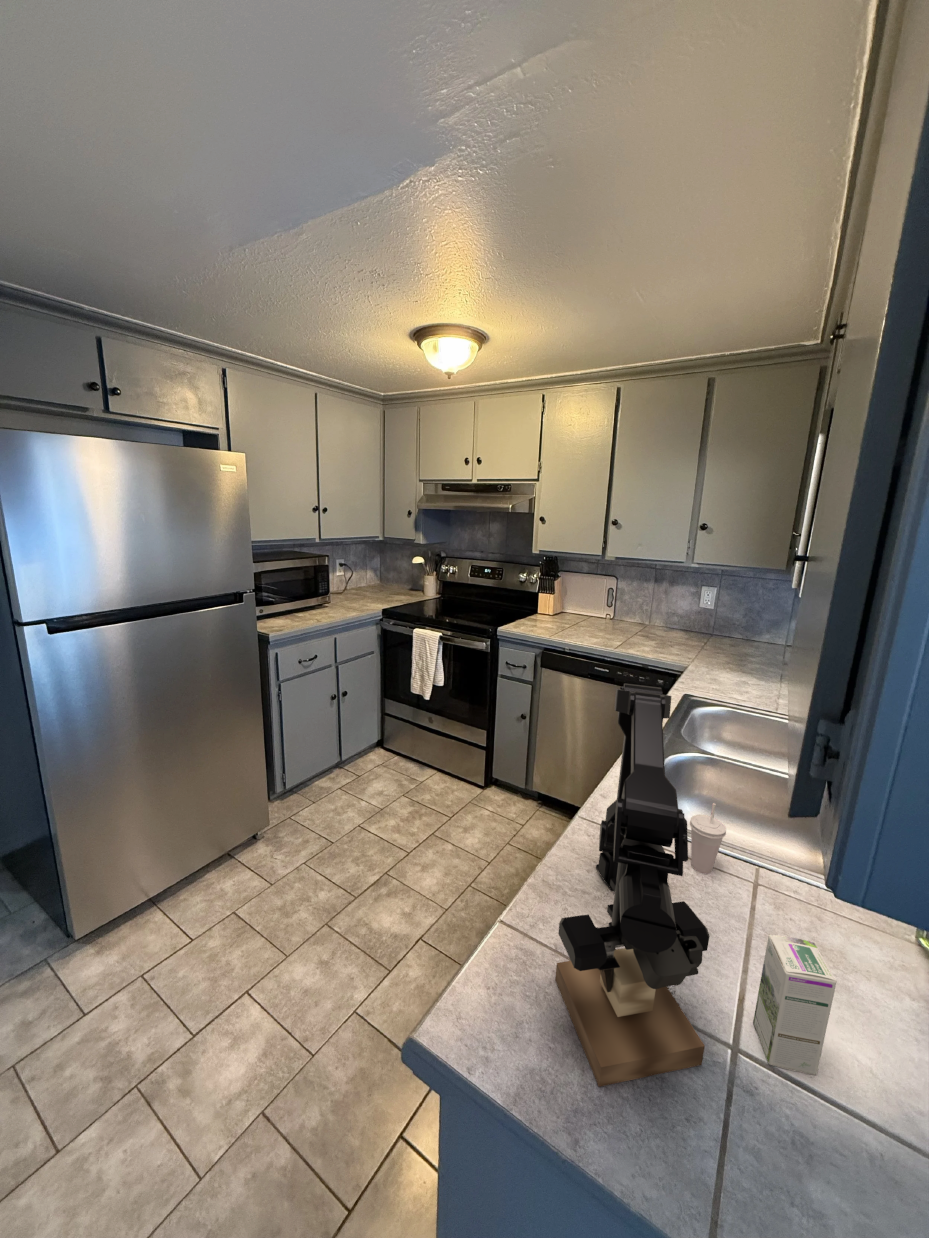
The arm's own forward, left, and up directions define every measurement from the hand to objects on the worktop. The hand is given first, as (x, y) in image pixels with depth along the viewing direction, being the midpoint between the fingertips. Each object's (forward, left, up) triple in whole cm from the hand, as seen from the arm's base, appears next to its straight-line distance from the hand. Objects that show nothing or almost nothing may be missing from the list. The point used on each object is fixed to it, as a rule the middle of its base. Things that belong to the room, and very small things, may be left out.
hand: (626, 985), depth 65 cm
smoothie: (-31, -25, -6) cm, 40 cm away
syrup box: (-19, +7, -6) cm, 21 cm away
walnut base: (0, 0, -6) cm, 6 cm away
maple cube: (0, 0, -2) cm, 2 cm away
